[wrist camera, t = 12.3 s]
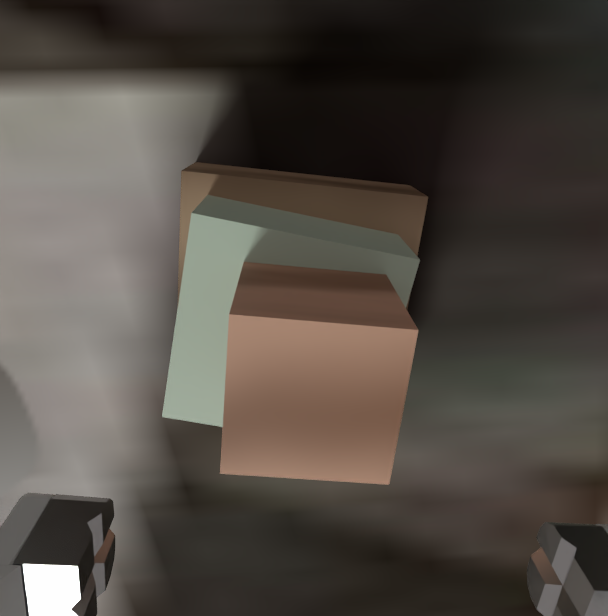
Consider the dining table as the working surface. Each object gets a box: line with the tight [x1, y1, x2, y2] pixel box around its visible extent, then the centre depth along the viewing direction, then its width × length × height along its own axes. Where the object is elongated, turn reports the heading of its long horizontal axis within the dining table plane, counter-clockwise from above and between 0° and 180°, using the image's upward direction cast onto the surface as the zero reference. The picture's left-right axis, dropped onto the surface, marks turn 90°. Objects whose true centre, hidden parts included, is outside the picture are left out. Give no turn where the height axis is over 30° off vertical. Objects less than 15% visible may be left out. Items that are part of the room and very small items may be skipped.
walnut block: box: [177, 162, 428, 310], centre depth 25 cm, size 10×10×4 cm
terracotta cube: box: [220, 262, 418, 485], centre depth 17 cm, size 5×5×5 cm
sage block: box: [162, 195, 420, 427], centre depth 22 cm, size 8×8×4 cm
